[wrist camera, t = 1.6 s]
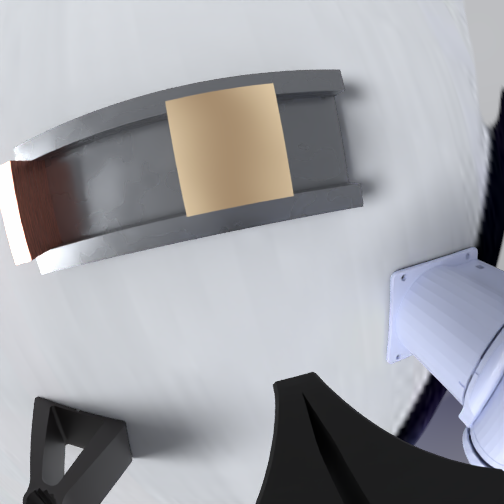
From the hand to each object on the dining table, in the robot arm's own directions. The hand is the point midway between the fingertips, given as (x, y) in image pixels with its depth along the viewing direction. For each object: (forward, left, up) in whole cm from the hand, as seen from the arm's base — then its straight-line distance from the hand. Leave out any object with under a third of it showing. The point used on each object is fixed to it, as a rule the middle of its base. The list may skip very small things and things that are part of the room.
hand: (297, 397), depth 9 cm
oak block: (0, -8, -8) cm, 12 cm away
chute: (+3, -8, -9) cm, 13 cm away
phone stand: (+18, +11, -10) cm, 23 cm away
